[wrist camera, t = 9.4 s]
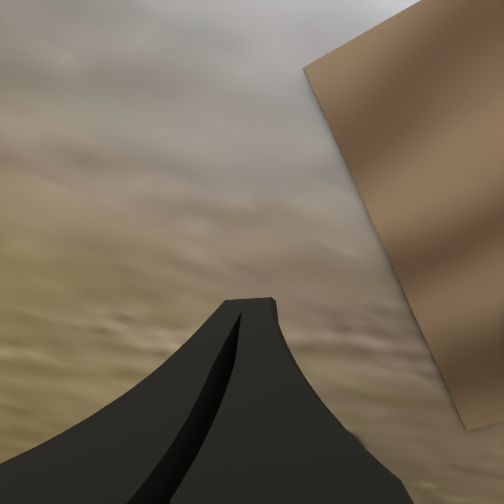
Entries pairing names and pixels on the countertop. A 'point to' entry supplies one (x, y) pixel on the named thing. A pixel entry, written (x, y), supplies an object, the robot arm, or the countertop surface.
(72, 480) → the robot arm
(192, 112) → the countertop surface
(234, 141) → the countertop surface
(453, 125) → the walnut board
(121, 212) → the countertop surface
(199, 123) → the countertop surface
